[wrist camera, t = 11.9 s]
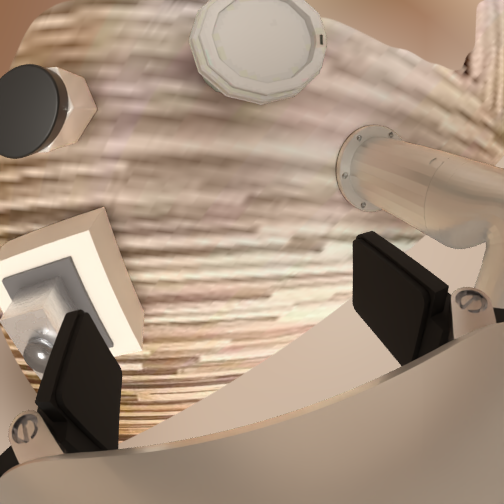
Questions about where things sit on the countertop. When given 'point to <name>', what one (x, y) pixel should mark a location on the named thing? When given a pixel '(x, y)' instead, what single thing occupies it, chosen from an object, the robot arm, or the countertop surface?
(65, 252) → the stand
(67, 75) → the jar
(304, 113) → the countertop surface
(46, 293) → the housing
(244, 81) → the disposable coffee cup
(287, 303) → the countertop surface
